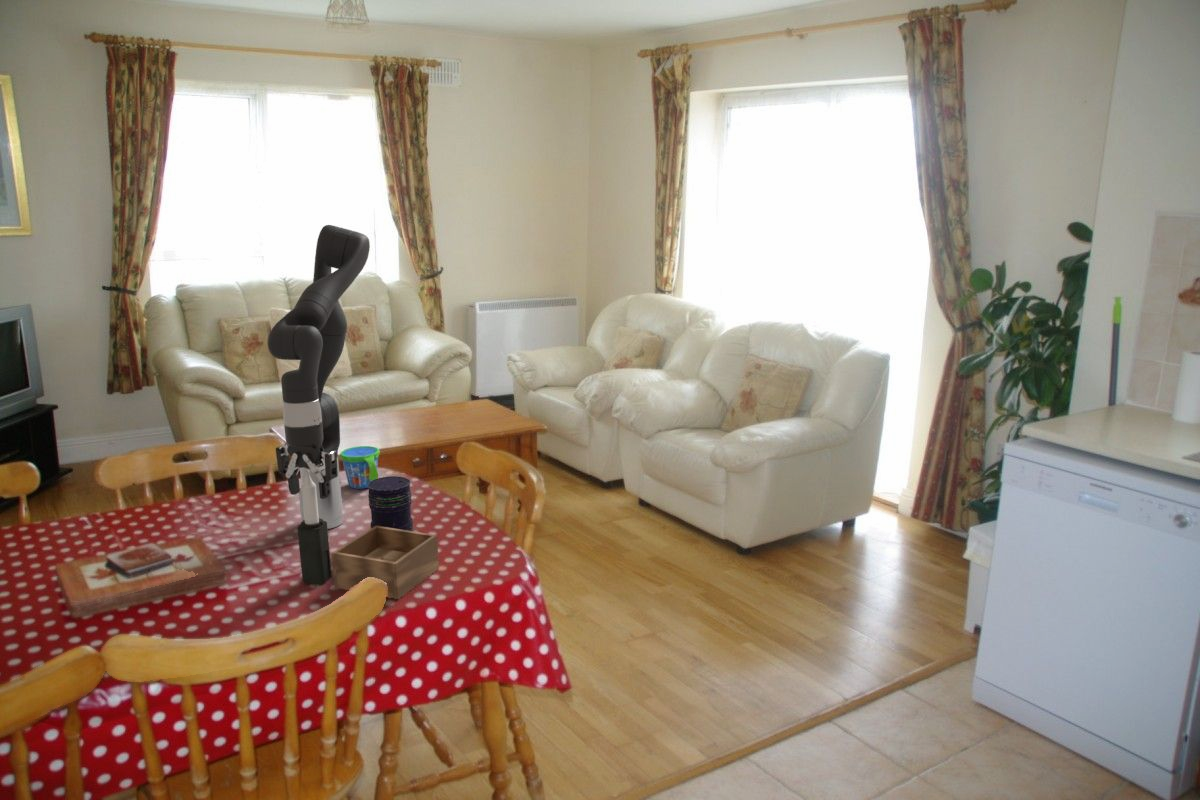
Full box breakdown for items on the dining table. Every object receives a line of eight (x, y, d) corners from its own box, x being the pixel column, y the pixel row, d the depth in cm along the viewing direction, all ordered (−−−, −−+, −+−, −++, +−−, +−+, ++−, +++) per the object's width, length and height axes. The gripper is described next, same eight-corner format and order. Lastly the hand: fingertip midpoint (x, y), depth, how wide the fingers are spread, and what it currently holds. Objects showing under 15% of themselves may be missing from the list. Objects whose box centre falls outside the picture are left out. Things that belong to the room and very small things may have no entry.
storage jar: (377, 553, 208) (372, 493, 204) (367, 539, 217) (362, 480, 213) (419, 545, 213) (415, 485, 209) (407, 531, 221) (404, 473, 217)
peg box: (334, 587, 191) (331, 552, 189) (378, 558, 206) (375, 525, 204) (398, 599, 186) (396, 564, 184) (438, 568, 200) (437, 535, 198)
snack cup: (335, 481, 257) (332, 447, 254) (370, 474, 263) (368, 441, 260) (353, 497, 244) (350, 461, 242) (390, 489, 250) (388, 454, 248)
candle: (322, 585, 192) (312, 475, 186) (300, 583, 193) (289, 473, 187) (333, 575, 197) (324, 467, 191) (312, 573, 198) (302, 465, 192)
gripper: (262, 422, 185) (270, 497, 190) (319, 428, 180) (326, 505, 185) (287, 413, 192) (294, 486, 196) (342, 419, 187) (349, 493, 191)
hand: (310, 495), depth 190 cm, fingers open, 7 cm apart
